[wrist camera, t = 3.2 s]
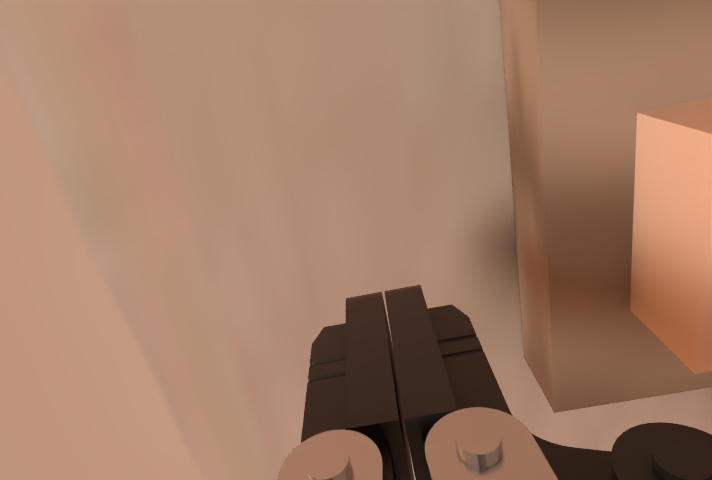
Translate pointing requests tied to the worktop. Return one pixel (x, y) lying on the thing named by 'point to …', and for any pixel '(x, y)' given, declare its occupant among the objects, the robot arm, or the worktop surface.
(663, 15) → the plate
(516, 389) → the worktop surface
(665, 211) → the tile
